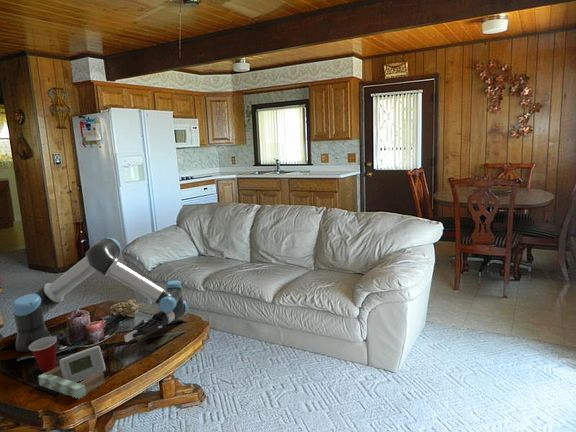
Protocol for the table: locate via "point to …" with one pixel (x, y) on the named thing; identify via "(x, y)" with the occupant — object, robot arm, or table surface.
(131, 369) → the table surface
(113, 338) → the table surface
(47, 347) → the plastic cup
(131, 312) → the mineral formation
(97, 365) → the digital clock
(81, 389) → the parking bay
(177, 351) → the table surface
